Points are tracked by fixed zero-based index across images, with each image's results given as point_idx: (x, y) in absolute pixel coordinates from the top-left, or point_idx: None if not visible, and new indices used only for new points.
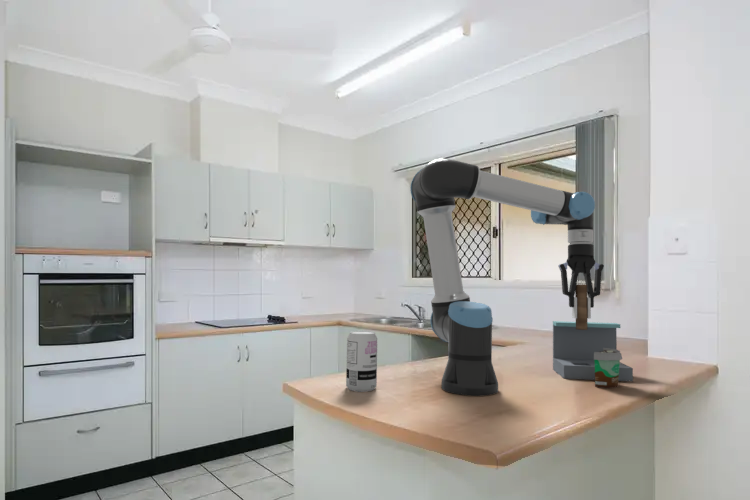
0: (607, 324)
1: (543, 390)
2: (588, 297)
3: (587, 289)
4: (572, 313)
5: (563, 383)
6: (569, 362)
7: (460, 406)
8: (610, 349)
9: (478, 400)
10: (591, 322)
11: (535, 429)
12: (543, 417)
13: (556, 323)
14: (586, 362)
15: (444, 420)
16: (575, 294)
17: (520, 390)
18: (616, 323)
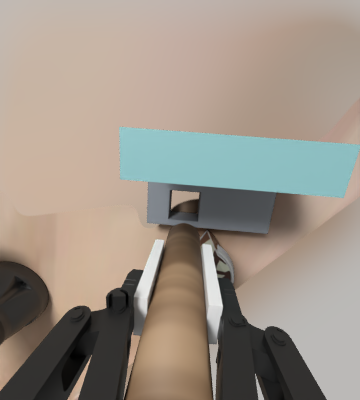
0: (297, 193)
1: (103, 287)
2: (213, 329)
3: (220, 373)
4: (152, 249)
5: (140, 248)
6: (167, 192)
7: (15, 347)
8: (227, 264)
9: (29, 329)
10: (264, 144)
11: (75, 392)
12: (86, 370)
13: (122, 178)
14: (203, 187)
15: (8, 378)
16: (142, 331)
17: (75, 289)
18: (352, 164)
